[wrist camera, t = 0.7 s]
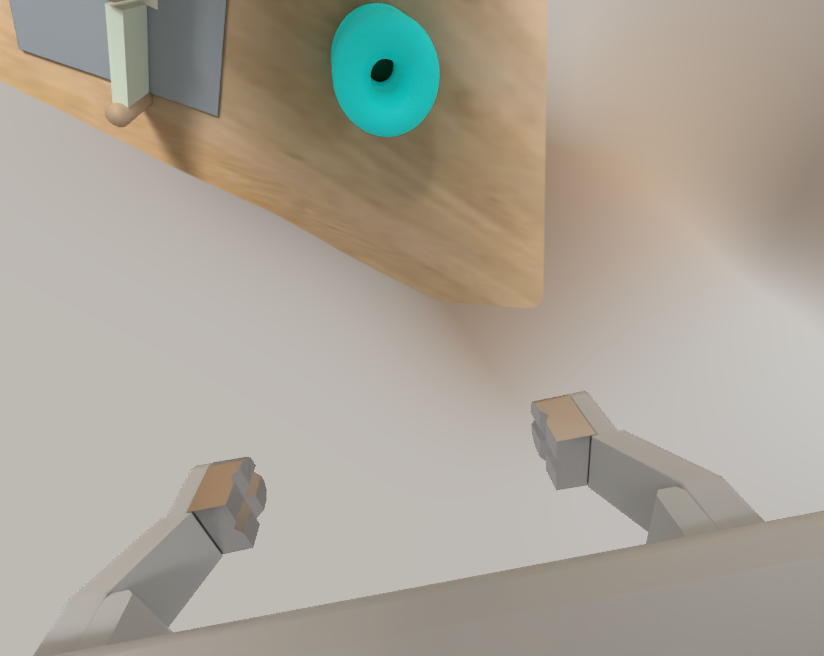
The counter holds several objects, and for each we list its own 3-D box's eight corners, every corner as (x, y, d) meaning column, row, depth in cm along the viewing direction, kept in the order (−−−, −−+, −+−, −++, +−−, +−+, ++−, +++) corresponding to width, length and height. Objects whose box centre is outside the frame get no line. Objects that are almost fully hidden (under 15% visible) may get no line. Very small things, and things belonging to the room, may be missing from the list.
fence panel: (127, -4, 35) (94, 2, 30) (150, 5, 36) (122, 13, 31) (132, 102, 40) (105, 122, 35) (152, 109, 41) (129, 130, 36)
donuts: (319, 20, 31) (440, 3, 32) (319, 9, 38) (418, -5, 39) (345, 148, 38) (444, 132, 39) (342, 118, 45) (425, 105, 46)
